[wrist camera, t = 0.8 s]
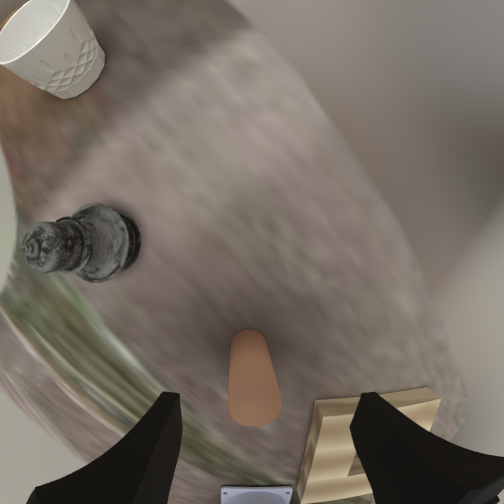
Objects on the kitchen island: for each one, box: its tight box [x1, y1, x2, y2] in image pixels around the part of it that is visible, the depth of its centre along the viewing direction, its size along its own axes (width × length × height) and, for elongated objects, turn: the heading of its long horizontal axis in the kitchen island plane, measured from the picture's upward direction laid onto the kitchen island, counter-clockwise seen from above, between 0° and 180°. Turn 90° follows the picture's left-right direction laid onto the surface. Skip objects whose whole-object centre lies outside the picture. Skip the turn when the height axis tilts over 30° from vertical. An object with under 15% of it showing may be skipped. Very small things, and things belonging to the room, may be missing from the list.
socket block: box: [296, 387, 441, 504], centre depth 24 cm, size 13×13×3 cm
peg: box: [228, 329, 282, 427], centre depth 20 cm, size 3×3×10 cm
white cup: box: [0, 0, 105, 99], centre depth 17 cm, size 8×8×10 cm
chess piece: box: [22, 203, 141, 283], centre depth 17 cm, size 6×6×12 cm
